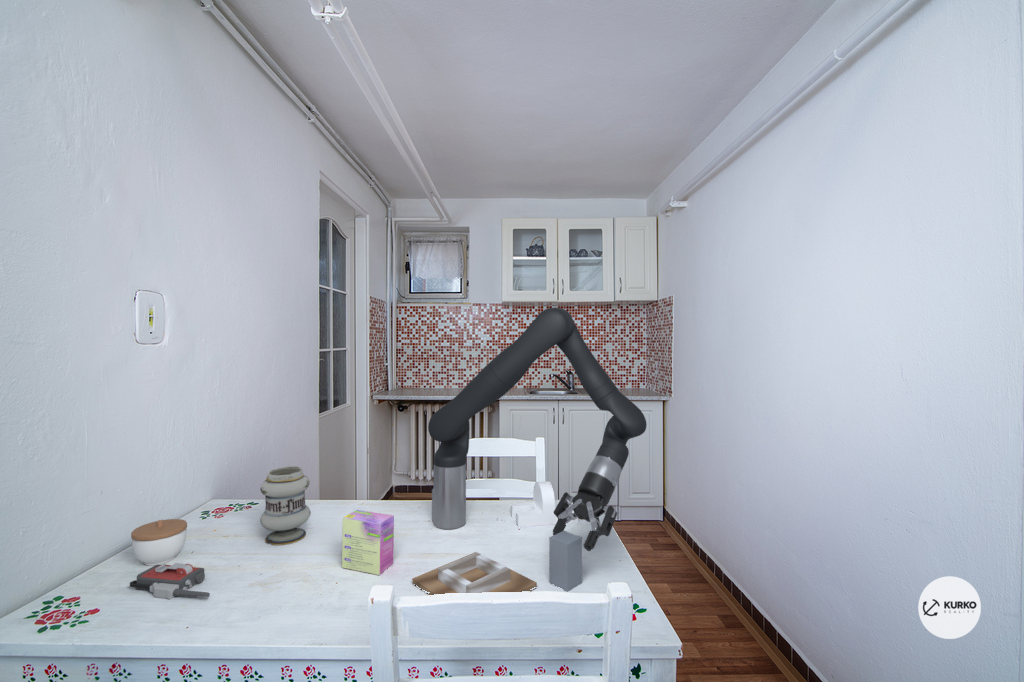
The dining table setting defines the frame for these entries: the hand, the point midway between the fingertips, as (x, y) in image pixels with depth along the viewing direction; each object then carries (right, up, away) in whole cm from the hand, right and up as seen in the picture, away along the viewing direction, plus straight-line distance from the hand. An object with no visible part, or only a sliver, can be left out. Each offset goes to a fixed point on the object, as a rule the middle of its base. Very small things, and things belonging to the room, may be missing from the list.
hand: (570, 543), depth 103 cm
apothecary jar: (-73, -8, +22) cm, 77 cm away
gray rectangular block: (-1, -8, -1) cm, 8 cm away
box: (-47, -8, +6) cm, 48 cm away
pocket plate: (-21, -8, -2) cm, 23 cm away
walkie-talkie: (-84, -9, -3) cm, 84 cm away
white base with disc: (-4, -9, +35) cm, 37 cm away
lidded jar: (-97, -8, +9) cm, 98 cm away
